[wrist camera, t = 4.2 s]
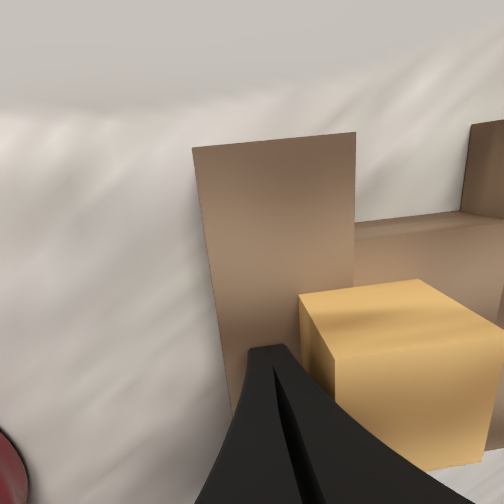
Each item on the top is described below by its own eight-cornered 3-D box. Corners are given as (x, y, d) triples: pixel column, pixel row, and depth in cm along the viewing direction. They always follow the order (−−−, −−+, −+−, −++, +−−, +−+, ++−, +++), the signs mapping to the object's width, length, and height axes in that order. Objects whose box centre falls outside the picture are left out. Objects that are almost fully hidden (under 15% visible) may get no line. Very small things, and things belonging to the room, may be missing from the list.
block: (408, 377, 12) (481, 461, 8) (303, 393, 11) (335, 488, 8) (418, 278, 10) (510, 333, 7) (298, 294, 10) (334, 359, 7)
